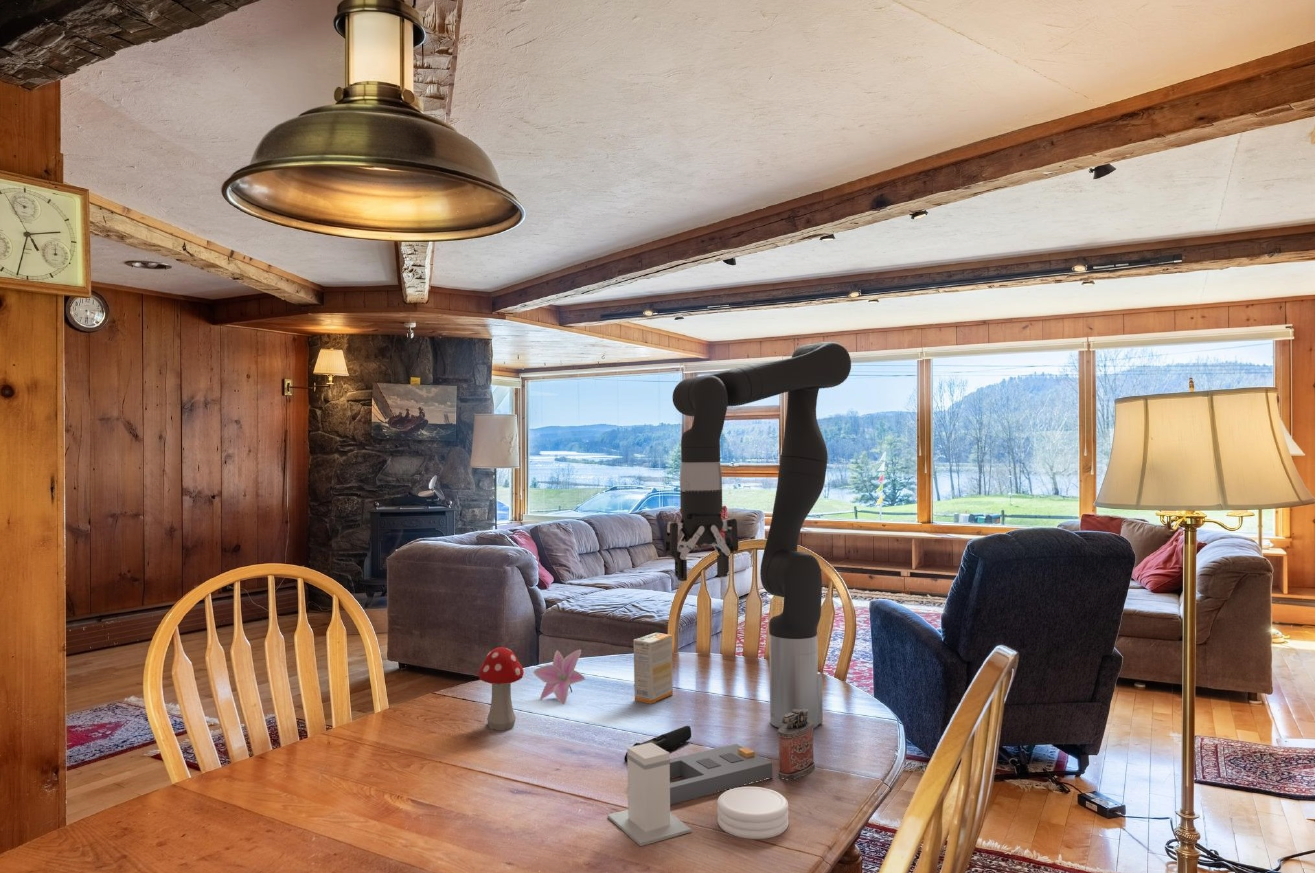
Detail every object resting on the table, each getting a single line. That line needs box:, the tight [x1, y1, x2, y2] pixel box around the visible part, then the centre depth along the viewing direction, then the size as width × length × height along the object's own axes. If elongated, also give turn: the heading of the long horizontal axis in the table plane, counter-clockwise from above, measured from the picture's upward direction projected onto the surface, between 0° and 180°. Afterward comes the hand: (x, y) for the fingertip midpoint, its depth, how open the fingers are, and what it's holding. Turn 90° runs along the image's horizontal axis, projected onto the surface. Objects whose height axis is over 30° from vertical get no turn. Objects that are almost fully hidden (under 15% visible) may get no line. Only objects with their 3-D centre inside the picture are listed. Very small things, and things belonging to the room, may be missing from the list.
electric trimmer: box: [624, 725, 692, 764], centre depth 143 cm, size 4×16×3 cm, turn 138°
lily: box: [533, 649, 586, 705], centre depth 177 cm, size 12×12×10 cm
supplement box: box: [632, 632, 674, 704], centre depth 175 cm, size 8×5×13 cm, turn 144°
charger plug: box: [626, 742, 671, 832], centre depth 115 cm, size 4×5×10 cm
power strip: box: [670, 743, 773, 806], centre depth 130 cm, size 20×10×3 cm, turn 120°
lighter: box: [777, 709, 816, 781], centre depth 133 cm, size 8×3×10 cm, turn 134°
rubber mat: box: [607, 809, 692, 847], centre depth 114 cm, size 8×10×1 cm
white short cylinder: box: [716, 786, 790, 840], centre depth 115 cm, size 10×10×4 cm
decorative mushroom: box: [478, 646, 525, 731], centre depth 158 cm, size 10×9×15 cm
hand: (702, 578), depth 145 cm, fingers open, 8 cm apart
